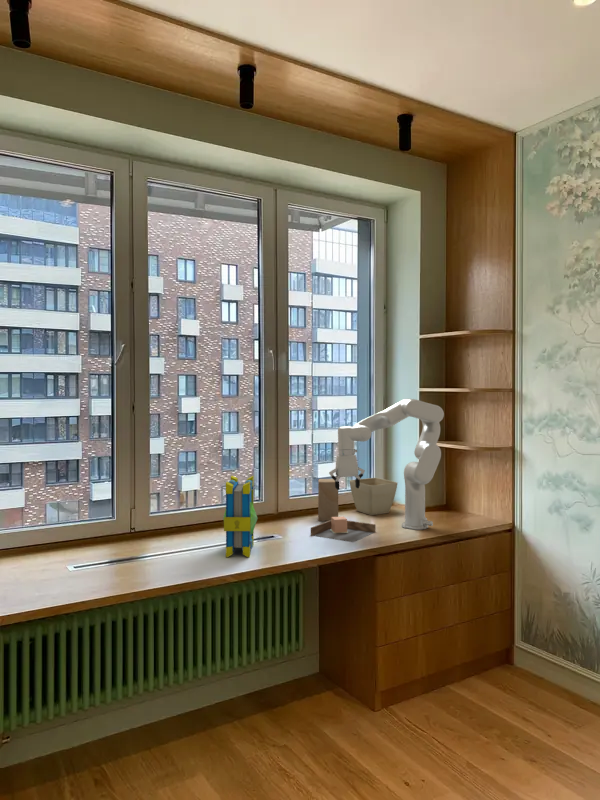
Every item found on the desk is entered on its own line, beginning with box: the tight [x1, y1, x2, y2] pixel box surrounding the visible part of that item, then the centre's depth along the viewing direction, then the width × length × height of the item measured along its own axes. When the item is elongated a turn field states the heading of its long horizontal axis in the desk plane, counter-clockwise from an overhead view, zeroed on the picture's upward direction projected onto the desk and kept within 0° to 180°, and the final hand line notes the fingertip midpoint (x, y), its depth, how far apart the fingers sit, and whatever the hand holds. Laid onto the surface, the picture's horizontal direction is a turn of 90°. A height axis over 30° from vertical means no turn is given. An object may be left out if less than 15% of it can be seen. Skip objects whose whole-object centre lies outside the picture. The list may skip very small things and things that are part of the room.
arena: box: [310, 519, 377, 543], centre depth 283 cm, size 22×22×4 cm
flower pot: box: [349, 477, 398, 516], centre depth 332 cm, size 19×19×17 cm
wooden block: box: [317, 478, 339, 522], centre depth 315 cm, size 10×10×20 cm
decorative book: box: [222, 475, 259, 558], centre depth 255 cm, size 14×23×30 cm, turn 0°
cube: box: [331, 516, 348, 533], centre depth 288 cm, size 6×6×6 cm
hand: (347, 488), depth 290 cm, fingers open, 9 cm apart
